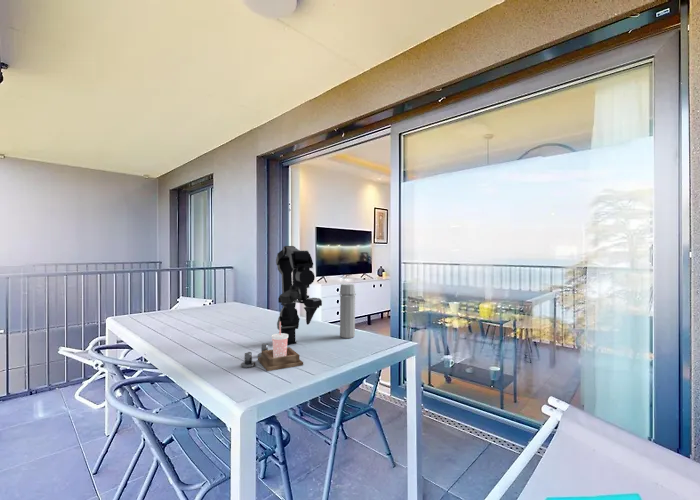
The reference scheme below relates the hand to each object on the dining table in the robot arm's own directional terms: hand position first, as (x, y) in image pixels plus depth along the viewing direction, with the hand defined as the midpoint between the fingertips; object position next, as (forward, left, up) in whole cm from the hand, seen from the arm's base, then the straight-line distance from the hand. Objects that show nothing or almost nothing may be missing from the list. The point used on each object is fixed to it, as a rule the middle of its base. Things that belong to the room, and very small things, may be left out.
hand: (299, 322), depth 131 cm
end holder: (+9, +4, -13) cm, 16 cm away
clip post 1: (+20, +2, -13) cm, 24 cm away
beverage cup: (+9, +4, -12) cm, 16 cm away
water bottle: (-30, -16, -13) cm, 36 cm away
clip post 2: (+12, -6, -13) cm, 19 cm away
